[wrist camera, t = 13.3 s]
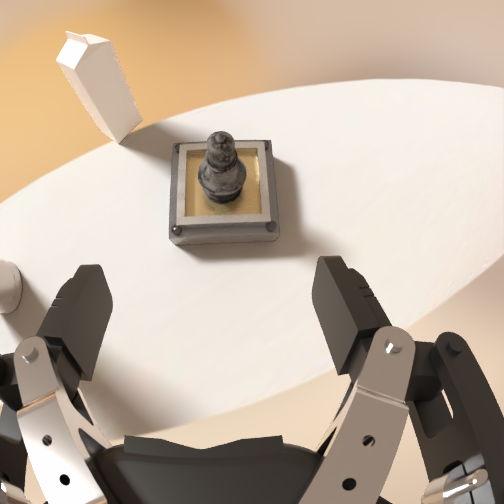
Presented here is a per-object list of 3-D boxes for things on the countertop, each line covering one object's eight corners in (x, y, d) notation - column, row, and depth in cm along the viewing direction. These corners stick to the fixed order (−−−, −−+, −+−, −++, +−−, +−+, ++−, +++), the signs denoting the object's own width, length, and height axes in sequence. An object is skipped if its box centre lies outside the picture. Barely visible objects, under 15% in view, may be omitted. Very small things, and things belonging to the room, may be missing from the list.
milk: (123, 108, 43) (83, 17, 21) (143, 120, 42) (105, 22, 21) (99, 130, 41) (47, 44, 20) (118, 145, 41) (64, 52, 19)
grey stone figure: (205, 210, 35) (194, 166, 24) (196, 170, 36) (184, 117, 25) (250, 200, 36) (259, 153, 24) (239, 161, 37) (243, 105, 25)
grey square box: (174, 245, 39) (166, 235, 33) (177, 157, 41) (171, 138, 36) (274, 241, 40) (281, 230, 34) (267, 153, 42) (272, 134, 37)
